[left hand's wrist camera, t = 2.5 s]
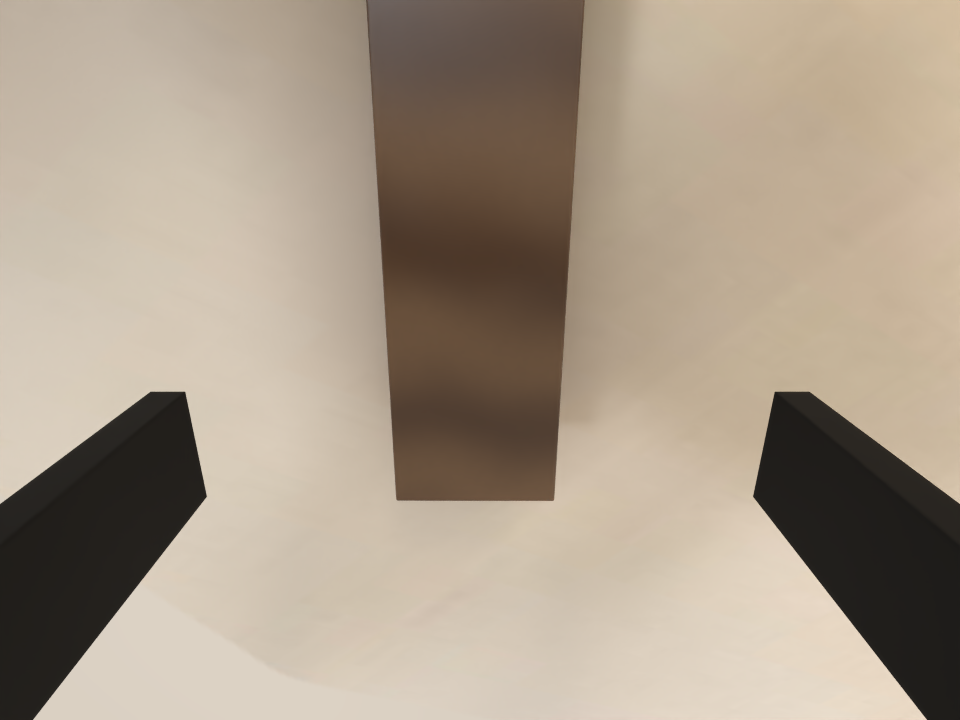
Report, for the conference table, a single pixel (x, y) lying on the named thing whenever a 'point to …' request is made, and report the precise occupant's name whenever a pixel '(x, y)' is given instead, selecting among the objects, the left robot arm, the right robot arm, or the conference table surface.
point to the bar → (475, 236)
